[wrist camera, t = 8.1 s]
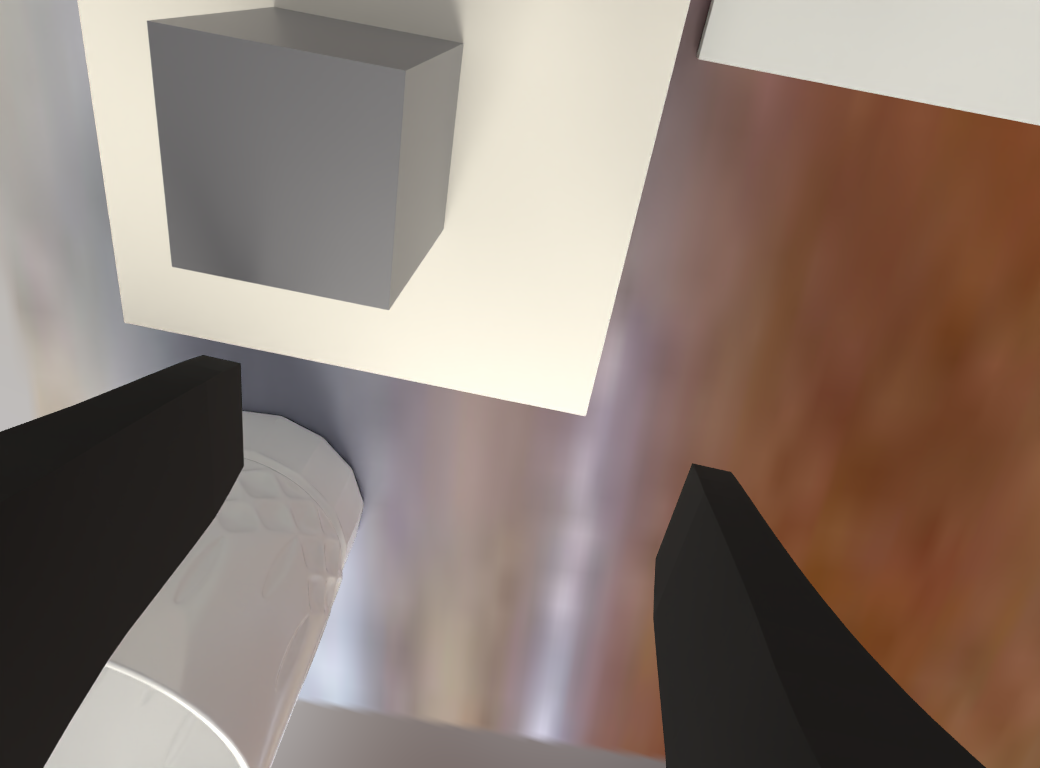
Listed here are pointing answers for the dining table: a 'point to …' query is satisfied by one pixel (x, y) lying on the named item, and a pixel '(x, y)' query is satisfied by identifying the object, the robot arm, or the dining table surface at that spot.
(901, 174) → the dining table surface
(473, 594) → the dining table surface
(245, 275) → the lid
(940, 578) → the dining table surface
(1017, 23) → the cream square tray
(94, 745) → the white cup
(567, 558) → the dining table surface
